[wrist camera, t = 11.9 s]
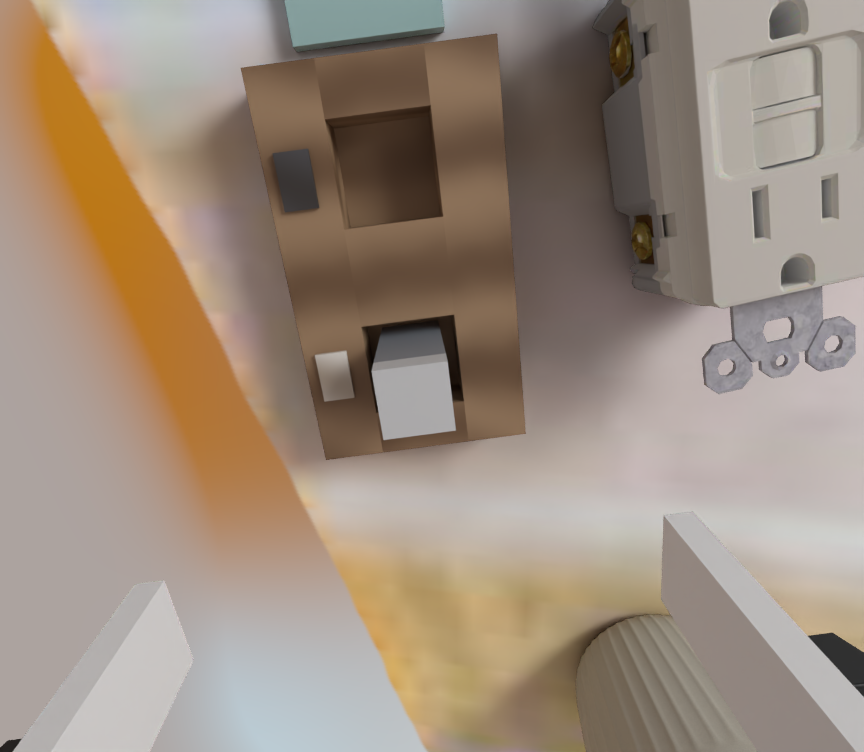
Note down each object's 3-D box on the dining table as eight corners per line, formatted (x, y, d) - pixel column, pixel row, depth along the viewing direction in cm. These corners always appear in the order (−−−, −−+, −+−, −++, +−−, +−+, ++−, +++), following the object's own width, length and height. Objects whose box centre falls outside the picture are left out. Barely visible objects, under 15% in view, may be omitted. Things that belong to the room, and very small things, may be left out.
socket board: (261, 85, 31) (238, 66, 27) (486, 54, 31) (497, 31, 27) (334, 435, 39) (325, 461, 35) (514, 411, 39) (526, 435, 34)
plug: (382, 327, 36) (371, 371, 26) (437, 320, 36) (447, 361, 26) (390, 380, 37) (383, 440, 27) (444, 373, 37) (456, 430, 27)
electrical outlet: (623, 367, 37) (694, 411, 28) (564, -83, 30) (632, -239, 20) (781, 332, 37) (909, 364, 27) (759, -134, 29) (924, -318, 20)
